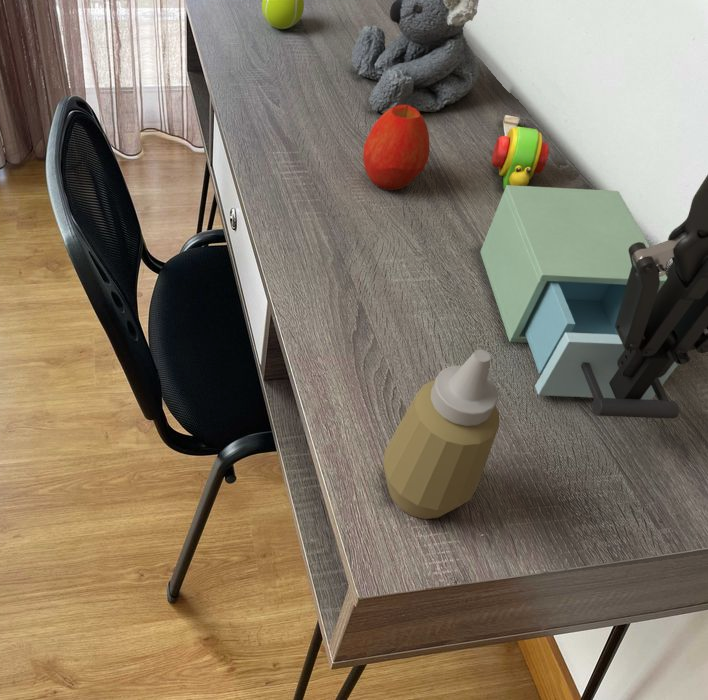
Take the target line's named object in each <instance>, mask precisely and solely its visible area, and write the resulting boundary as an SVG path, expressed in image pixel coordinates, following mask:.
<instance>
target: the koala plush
mask: <svg viewBox="0 0 708 700" xmlns="http://www.w3.org/2000/svg"><path fill="white" fill-rule="evenodd" d="M479 1H480V0H394V2H393V3H392V4H391V5H390V9H389V18H390V20H391V21H392V22H394V23H395V24H396V25H397V26H398V28H399V31H400V32H401V33H399V35H398V36H397V37H396V38H394V39H393V40H392V41H391V42H390V43H389V44H388V45H387V46H386V36H385V31H384V30H383V28H381V27H379V26H378V25H373V26H372V25H365V26H364V27H363V28H362V29H361V32H360V33H359V36H358V37H357V40H356V42H355V44H354V47H353V49H352V53H351V65H352V67H353V68H354V70H355V71H356V72H357V73H358V76H361V77H364V78H366V79H371V80H373V81H378V82H377V84H376V85H374V88H373V89H372V91H371V92H370V96H369V105H370V106H371V109H372V110H373V111H375V112H376V113H378V112H379V113H381V114H382V115H383V114H384V113H385V112H386V111H387V110H389V109H390V108H393V107H395V106H398V105H409V106H411V107H413V108H415V109H416V110H417V111H418V112H419V113H421V112H425V113H429V112H430V113H434V112H438V111H441V109H443V108H445V105H446V106H447V105H452V104H454V103H456V102H457V101H460V100H461V99H462V98H464V97H465V96H466V95H468V93H469V92H470V91H471V90H472V88H473V87H474V85H476V82H477V80H478V74H479V68H478V63H477V59H476V57H475V54H474V52H473V50H472V49H471V47H470V46H469V44H468V40H467V38H466V37H465V35H464V27H465V25H466V23H468V22H469V21H471V22H472V21H473V20H474V17H475V16H476V15H477V13H478V6H479Z"/></svg>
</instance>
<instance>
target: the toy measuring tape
mask: <svg viewBox="0 0 708 700" xmlns="http://www.w3.org/2000/svg"><path fill="white" fill-rule="evenodd" d="M519 123H520V117H518V116H513V115H508V114H505V115H504V117H503V121H502V125H503V132H504V135H501V136H499V137H498V138H497V139H496V141H495V144H494V147H493V151H492V155H491V166H493V167H495V168H498V174H499V176H501V177H502V186H503V187H502V189H503V191H504V190H505V188H506V185H513V186H529V185H528V184H529V183H530V180H531V179H532V177H533V176H534V174H536V175H537V174H540V173H542V172H543V170H544V169H545V166H546V164H547V160H548V158H549V154H550V146H549V144H548V143H547V142H545V141H543V135H542V132H540V131H538V129H536V128H531V127H524V126H518V125H519Z"/></svg>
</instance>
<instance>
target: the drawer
mask: <svg viewBox="0 0 708 700" xmlns="http://www.w3.org/2000/svg"><path fill="white" fill-rule="evenodd" d="M625 288H626V285H622V284H601V283H580V282H559V281H547V282H546V284H545V286H544V288H543V290H542V292H541V294H540V296H539V298H538V300H537V302H536V304H535V306H534V308H533V310H532V312H531V314H530V316H529V318H528V320H527V322H526V324H525V326H524V328H523V329H524V332H525V335H526V337H527V340H528V343H527V344H528V346H529V348H530V352H531V354H532V357H533V360H534V363H535V366H536V368H537V372H538V374H539V375H540V376H539V378H538V379H537V381H536V383H535V385H534V388H535V391H536V394H537V396H549V397H552V396H553V397H571V398H572V397H574V398H575V397H576V398H593V400H592V406H591V407H592V408H591V410H592V412H593V414H594V415H595V416H596V417H616V418H617V417H618V418H642V419H643V418H644V419H666V420H667V419H668V420H676V419H677V418H678V417H679V415H680V406H679V404H678V402H677V401H675V400H670V399H669V397H668V395H667V393H666V391H665V389H664V387H663V386H664V384H665V382H666V381H667V380H668V378H669V377H670V376H671V375H672V373H673V372H674V371H675V369H676V368H677V367H678V365H679V364H677V363H676V362H674V363H673V364H672V366H671V367H670V368H669V369H668V371H667V372H666V374H665V375H663V376H662V377H660V378H658V377H657V378H656V379H655V380H654V382H653V383H652V384H651V386H650V387H649V388H648V390H647V391H646V392H645V394H644V395H643V396H642V398H641V399H617V398H615V396H614V394H613V391H612V389H611V387H610V384H609V382H610V381H611V379H612V378H613V376H614V375H615V373H616V372H617V370H618V369H619V367H618V365H617V361H618V359H619V358H620V357H621V355H622V353H623V352H624V350H625V348H624V346H623V344H622V342H621V339H620V337H619V335H618V333H617V331H616V329H615V323H616V320H617V316H618V313H619V309H620V306H621V302H622V299H623V295H624V292H625ZM655 396H656V398H657V399H653V398H654V397H655Z"/></svg>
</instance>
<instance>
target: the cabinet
mask: <svg viewBox="0 0 708 700" xmlns="http://www.w3.org/2000/svg"><path fill="white" fill-rule="evenodd" d="M638 242H642V243H644V244H645V246H646V247H647V248H648V247H651V246H650V244H649V242H648V241H647V239H646V237H645V235H644V234H643V231H642V230H641V228H640V227H639V225H638V223H637V221H636V220H635V218H634V216H633V214H632V212H631V211H630V209H629V207H628V205H627V203H626V202H625V200H624V198H623V197H622V195H621V193H620V191H619V190H606V189H587V188H586V189H585V188H568V187H567V188H566V187H549V186H529V185H527V186H513V185H506V188H505V190H504V189H503V193H502V195H501V198H500V200H499V204H498V206H497V208H496V211H495V213H494V216H493V218H492V221H491V224H490V226H489V229H488V232H487V234H486V237H485V238H484V241H483V244H482V246H481V249H480V251H479V253H480V257H481V259H482V262H483V265H484V268H485V271H486V274H487V277H488V278H487V279H488V280H489V284H490V287H491V289H492V293H493V296H494V298H495V301H496V305H497V308H498V311H499V314H500V318H501V320H502V324H503V326H504V330H505V333H506V337H507V339H508V341H509V343H519V344H520V343H521V344H522V343H523V344H529V343H528V340H527V337H526V335H525V332H524V329H523V328H524V326H525V324H526V322H527V320H528V318H529V316H530V314H531V312H532V310H533V308H534V306H535V304H536V302H537V300H538V298H539V296H540V294H541V292H542V290H543V288H544V286H545V284H546V282H547V281H559V282H580V283H601V284H622V285H627V281H628V278H629V274H630V271H631V267H632V264H631V259H630V255H629V248H630V246H631V245H633V244H635V243H638ZM667 277H668V275H667V273H666V274H665V275H664V276H661V277H659V278H660V284H659V289H658V291H659V290H660V288H661V287H662V285H663V284H664V282H665V281H666V279H667ZM657 293H658V292H657Z"/></svg>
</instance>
